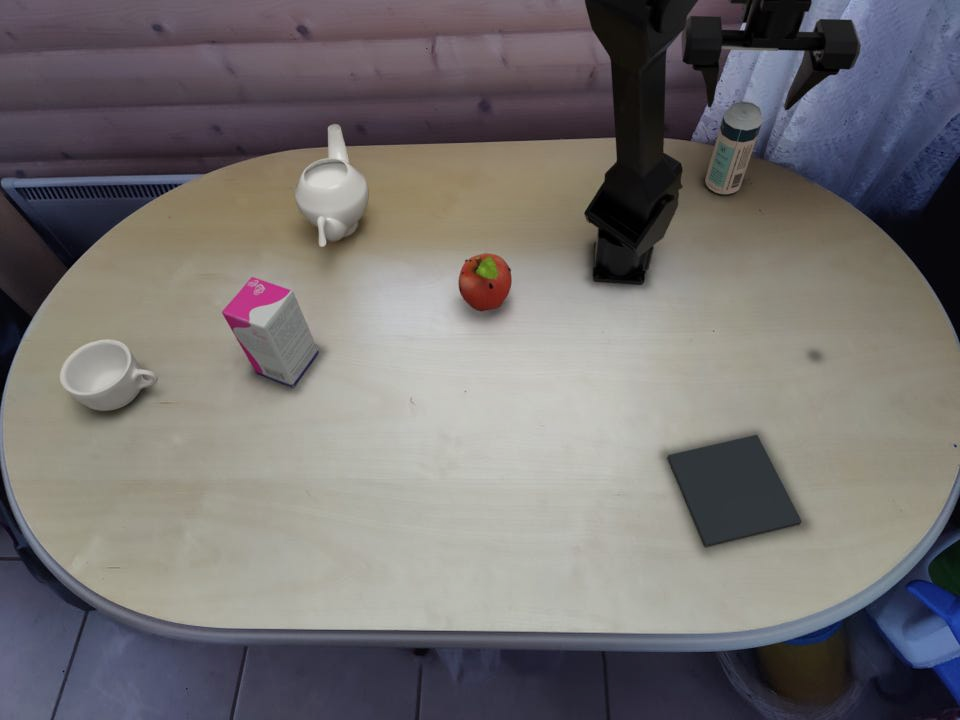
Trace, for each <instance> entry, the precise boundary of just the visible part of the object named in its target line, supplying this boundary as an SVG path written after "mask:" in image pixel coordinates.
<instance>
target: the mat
mask: <svg viewBox="0 0 960 720" xmlns="http://www.w3.org/2000/svg"><path fill="white" fill-rule="evenodd" d="M667 460H668V462H669V465H670V467H671V469H672V472H673V474H674V476H675V479H676V481H677V483H678V486H679V489H680V491H681V493H682V495H683V497H684V500H685V503H686V504H687V507H688V510H689V512H690V515H691V517H692V519H693V522H694V524H695V527H696V529H697V531H698V534H699V536H700V539H701V542H702V543H703V546H704V547H710V546H714V545H719V544H722V543H726V542H731V541H734V540H739V539H743V538H748V537H753V536H756V535H760V534H763V533H768V532H772V531H776V530H780V529H785V528H789V527H792V526H797V525H800V524H801V523H803V521H802V518H801V517H800V515H799V513H798V511H797V509H796V507H795V505H794V503H793V502H792V499H791V498H790V496H789V494H788V492H787V490H786V487H785V486H784V484H783V482H782V480H781V477H780V476H779V474H778V472H777V470H776V468H775V466H774V464H773V462H772V461H771V459H770V456H769V455H768V453H767V450H766V449H765V447H764V445H763V443H762V441H761V438H760V437H759V435H758V434H754V435H749V436H746V437H745V436H744V437H741V438H736V439H732V440H727V441H724V442H719V443H715V444H710V445H706V446H702V447H697V448H693V449H689V450H684V451H679V452H675V453H671V454H668V455H667Z"/></svg>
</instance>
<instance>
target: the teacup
mask: <svg viewBox="0 0 960 720" xmlns="http://www.w3.org/2000/svg"><path fill="white" fill-rule="evenodd" d="M59 371H60V372H59V380H60V383H61V386H62V387H63V388H64V390H65V391H66V392H67V393H68V394H69V395H70V396H72V397H73V398H74V399H75V400H77V401H78V402H79V403H80V404H82V405H84V406H86V407H87V408H89V409H92V410H95V411H101V412H102V411H104V412H107V411H114V410H115V411H116V410H118V409H121V408H123V407H125V406H127V405H128V404H130V403H131V402H132V401H133V400H134V399H136V398H137V396H138V395H139V393H140V391H141V390H142V389H144V388H147V387H151V386H153V385H155V384H157V382H158V381H159V377H158V375H157V374H156V373H155V372H153V371H151V370H149V369H144V368H142V367H141V365H140V363H139V362H138V359H136V357H135V356H134V354H133V353H132V351H131V349H130V348H129V347H128V346H127V345H126V344H124V343H123V342H121V341H119V340H116V339H99V340H94V341H91V342H88V343H86V344H83V345H82V346H80V347H78V348H77V349H75V350H74V351H73V352H72V353H71V354H70V355H68V357H67V358H66V360H65V361H64V362H63V364H62V366H61V369H60V370H59ZM144 376H147V377H150V378H151V379H145V378H144Z"/></svg>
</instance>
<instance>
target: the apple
mask: <svg viewBox="0 0 960 720" xmlns="http://www.w3.org/2000/svg"><path fill="white" fill-rule="evenodd" d="M512 279H513V278H512V269H511V267H510V266H509V264H508V263H507V262H506V261H505V259H504V258H502V257H501V256H500V255H498V254H495V253H481V254H476V255H474V256H471V257H469V258H468V259H465V260H464V263H463V265H462V267H461V269H460V272H459V276H458V291H459V293H460V296H461V297H462V300H464V301H465V303H467V304H468V306H469V307H471V308H472V309H473V310H475V311H477V312H487V311H493V310H494V309H495V310H496V309H498V308H500V307H501V306H502V305H503V303H504V302H505V301H506V300H507V298H508V296H509V294H510V291H511V287H512Z"/></svg>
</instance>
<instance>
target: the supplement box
mask: <svg viewBox="0 0 960 720" xmlns="http://www.w3.org/2000/svg"><path fill="white" fill-rule="evenodd" d="M221 314H222V316H223V317H224V320H225V321H226V322H227V325H228V326H229V328H230V329H231V332H232V333H233V335H234V337H235V338H236V340H237V342H238V344H239V346H240V348H241V349H242V351H243V353H244V354H245V356H246V358H247V359H248V362H249V363H250V365H251V367H252V369H253V370H254V373H256V374H257V375H260V376H262V377H265V378H267V379H271V380H272V381H275V382H278V383H280V384H283V385H285V386H287V387H290V388H295V387H296V385H297V384H298V383H299V381H300V380H301V378H302V377H303V376H304V374H305V373H306V371H307V370H308V369H309V367H310V366H311V364H312V363H313V361H314V360H315V359H316V358H317V356H318V354H319V349H318V347H317V344H316V341H315V339H314V337H313V335H312V332H311V329H310V327H309V325H308V322H307V321H306V318H305V316H304V313H303V311H302V308H301V306H300V304H299V302H298V299H297V297H296V295H295V292H294V290H293V289H292V290H291V289H289V288H287V287H283V286H281V285H277V284H274V283H271V282H268V281H265V280H263V279H260V278H257V277H254V276H251V277H250V278H249V279H248V281H246V283H245V284H244V285H243V286H242V288H241V289H240V290H239V291H238V292H237V293H236V295H235V296H234V297H233V298H232V299H231V300H230V302H229V303H228V304H227V305H226V306H225V307H224V308H223V309H222V311H221Z"/></svg>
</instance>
